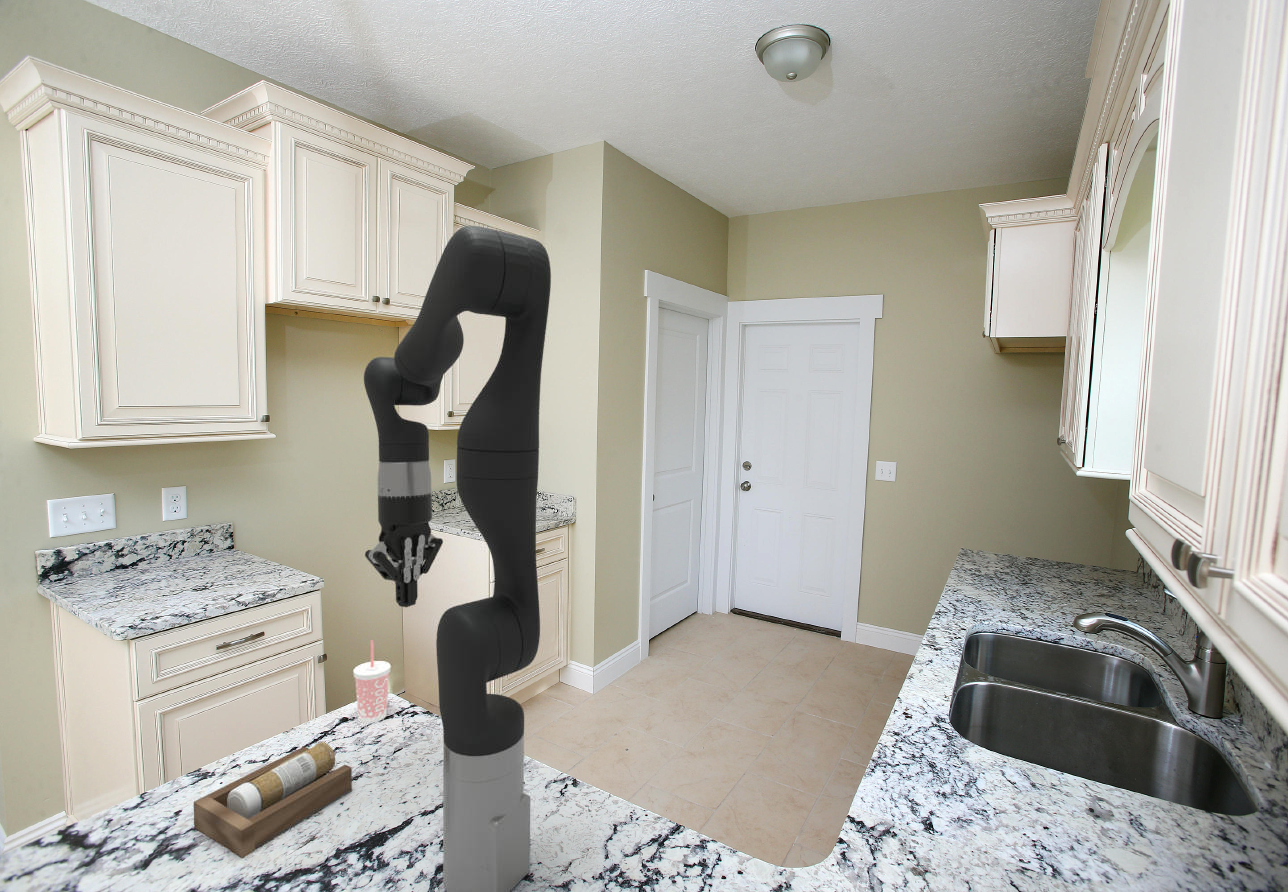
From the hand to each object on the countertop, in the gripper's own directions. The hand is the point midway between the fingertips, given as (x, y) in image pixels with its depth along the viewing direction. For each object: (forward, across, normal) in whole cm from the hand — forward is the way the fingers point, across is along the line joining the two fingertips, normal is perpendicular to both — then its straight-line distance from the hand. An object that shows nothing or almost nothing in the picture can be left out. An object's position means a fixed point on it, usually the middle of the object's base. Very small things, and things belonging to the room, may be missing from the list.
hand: (407, 605), depth 91 cm
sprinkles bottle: (+23, -6, +11) cm, 26 cm away
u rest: (+26, -14, +9) cm, 30 cm away
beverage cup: (+25, +8, +19) cm, 33 cm away
